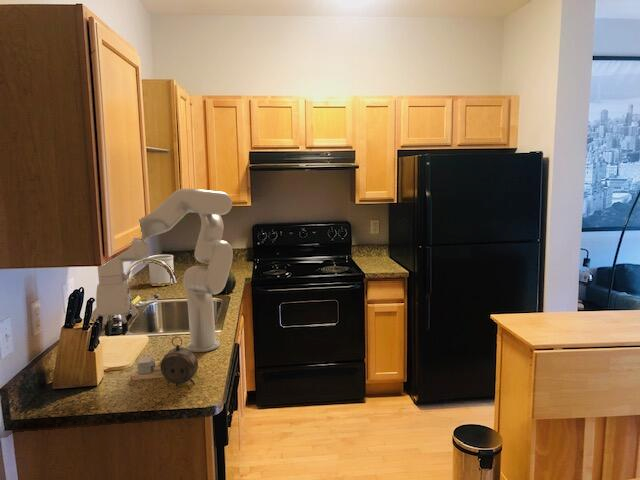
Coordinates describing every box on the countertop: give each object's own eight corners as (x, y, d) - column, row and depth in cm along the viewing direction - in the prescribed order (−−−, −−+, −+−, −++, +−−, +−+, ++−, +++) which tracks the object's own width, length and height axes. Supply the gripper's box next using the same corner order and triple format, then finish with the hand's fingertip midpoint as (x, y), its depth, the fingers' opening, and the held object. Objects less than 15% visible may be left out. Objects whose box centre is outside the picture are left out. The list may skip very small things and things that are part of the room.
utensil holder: (161, 280, 295) (159, 253, 292) (180, 282, 289) (178, 254, 286) (144, 286, 281) (142, 257, 279) (163, 288, 276) (161, 259, 273)
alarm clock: (199, 382, 149) (196, 333, 146) (193, 390, 143) (189, 340, 141) (167, 381, 150) (163, 333, 148) (159, 389, 145) (155, 339, 142)
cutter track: (135, 373, 157) (134, 361, 156) (186, 368, 160) (185, 356, 159) (132, 380, 152) (131, 367, 151) (184, 374, 155) (183, 362, 154)
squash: (224, 287, 250) (231, 263, 258) (200, 286, 256) (208, 263, 263) (235, 299, 261) (242, 275, 269) (213, 298, 267) (220, 275, 274)
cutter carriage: (141, 368, 157) (140, 357, 156) (155, 366, 158) (154, 356, 157) (138, 374, 152) (137, 363, 151) (152, 372, 153) (152, 361, 152)
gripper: (141, 275, 154) (146, 328, 156) (87, 278, 151) (93, 332, 154) (136, 280, 146) (141, 336, 149) (79, 284, 144) (85, 340, 146)
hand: (117, 333), depth 151 cm, fingers open, 4 cm apart
